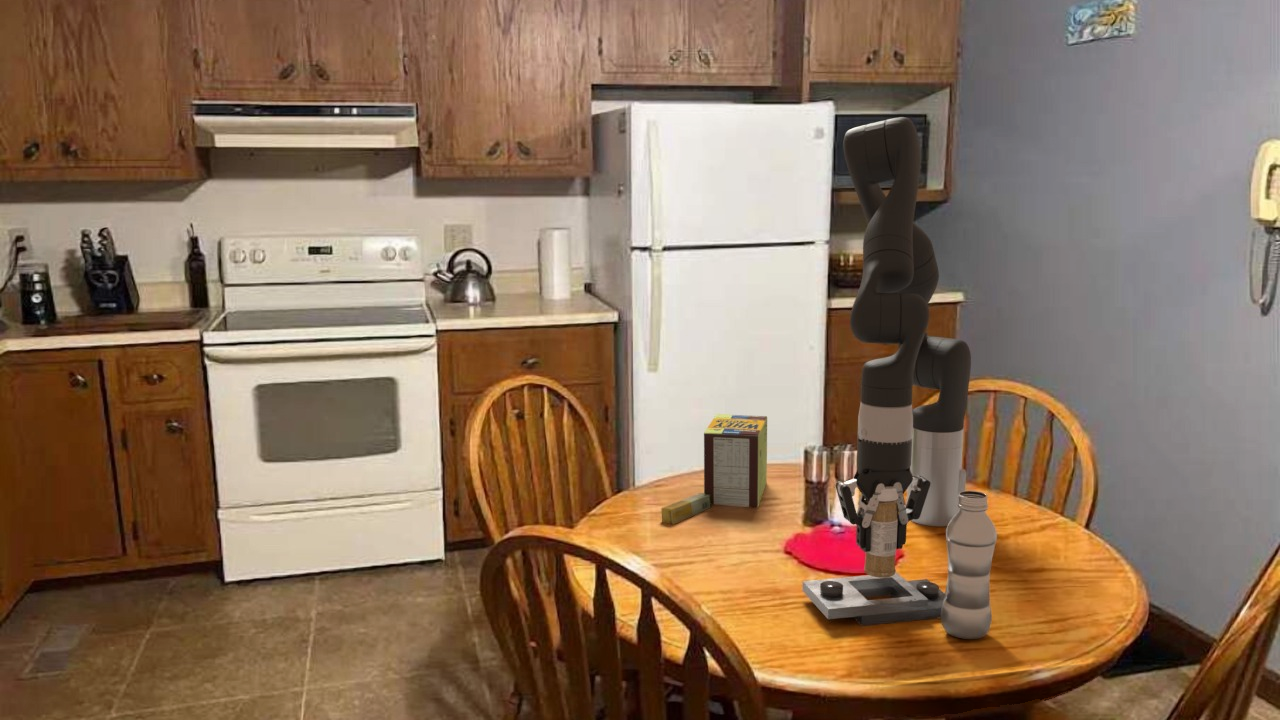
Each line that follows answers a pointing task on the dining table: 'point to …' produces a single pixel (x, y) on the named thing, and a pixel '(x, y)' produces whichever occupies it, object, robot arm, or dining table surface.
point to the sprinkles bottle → (883, 536)
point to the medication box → (685, 508)
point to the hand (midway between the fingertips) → (880, 548)
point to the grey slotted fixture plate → (847, 602)
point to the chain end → (932, 612)
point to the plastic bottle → (969, 568)
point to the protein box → (735, 460)
